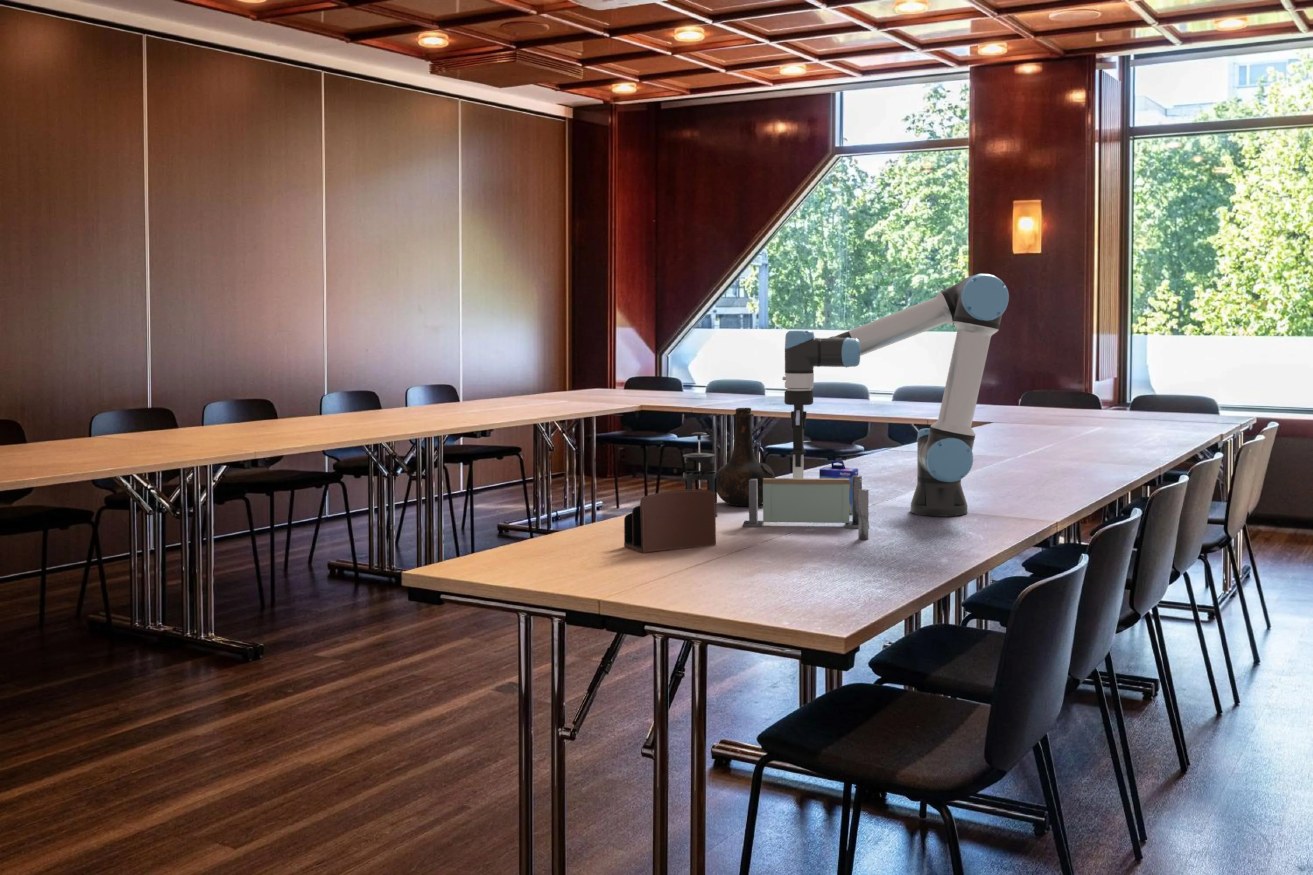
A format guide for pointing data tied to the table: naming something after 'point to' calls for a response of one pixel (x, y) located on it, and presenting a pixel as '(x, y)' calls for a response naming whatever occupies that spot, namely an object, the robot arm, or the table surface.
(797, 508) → the gate
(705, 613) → the table surface
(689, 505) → the letter holder
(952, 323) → the robot arm
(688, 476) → the french press
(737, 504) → the dark brown vase
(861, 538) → the pair of grey posts
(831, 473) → the ink cartridge box
